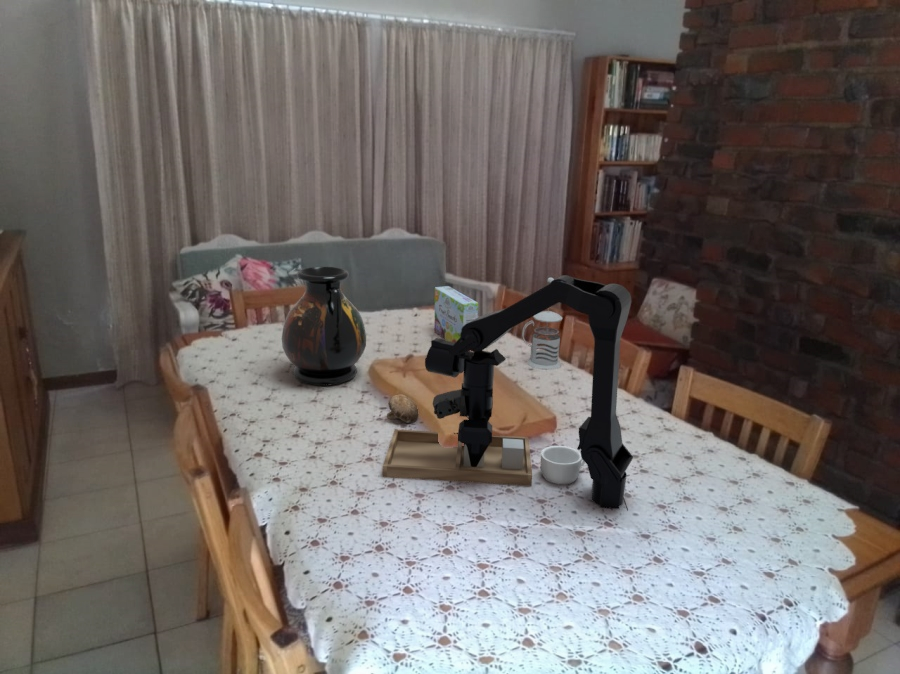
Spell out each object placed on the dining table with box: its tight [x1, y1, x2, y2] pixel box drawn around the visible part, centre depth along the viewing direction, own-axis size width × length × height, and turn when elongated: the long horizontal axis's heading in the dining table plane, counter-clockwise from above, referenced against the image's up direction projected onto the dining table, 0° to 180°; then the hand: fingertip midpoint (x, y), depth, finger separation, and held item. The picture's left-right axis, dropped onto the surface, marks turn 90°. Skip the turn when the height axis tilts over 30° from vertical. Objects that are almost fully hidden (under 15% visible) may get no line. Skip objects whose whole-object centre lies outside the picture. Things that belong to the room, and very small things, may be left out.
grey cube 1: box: [463, 444, 485, 467], centre depth 135 cm, size 4×4×4 cm
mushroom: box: [386, 393, 419, 424], centre depth 154 cm, size 8×8×6 cm
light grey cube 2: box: [502, 438, 524, 470], centre depth 134 cm, size 4×4×4 cm
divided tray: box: [382, 428, 533, 487], centre depth 135 cm, size 16×28×3 cm, turn 86°
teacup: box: [540, 445, 586, 485], centre depth 131 cm, size 10×8×5 cm
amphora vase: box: [281, 266, 367, 386], centre depth 175 cm, size 22×22×28 cm
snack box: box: [434, 285, 479, 343], centre depth 209 cm, size 21×6×15 cm, turn 25°
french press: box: [521, 277, 563, 370], centre depth 190 cm, size 10×12×25 cm
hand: (474, 455), depth 135 cm, fingers open, 9 cm apart
